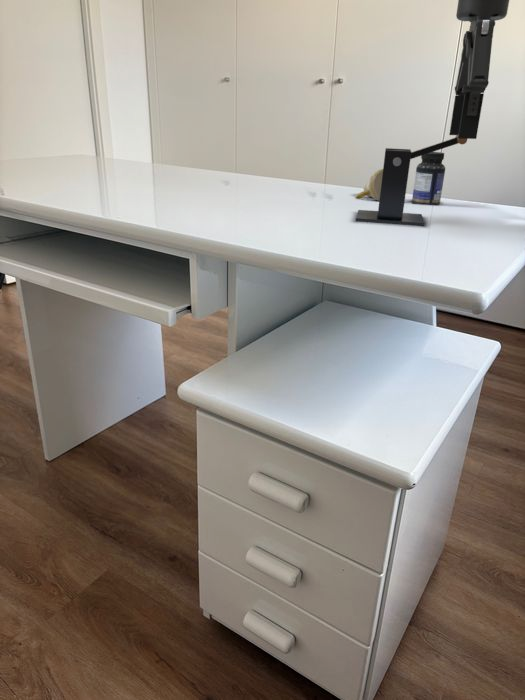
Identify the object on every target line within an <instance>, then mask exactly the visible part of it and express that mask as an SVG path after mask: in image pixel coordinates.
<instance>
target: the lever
mask: <svg viewBox="0 0 525 700" xmlns="http://www.w3.org/2000/svg"><path fill="white" fill-rule="evenodd" d="M467 142H468V139H462V138H458V135H455V137H453V138H449V139H447V140H444V141H441V142H438V143H435V144H432V145H429V146H426V147H423V148H420V149H416V150H414V151H411V159H410V160H413V159H415V158H419V157H421V156H422V155H425V154H428V153H431V152H438V151H440V150H444V149H445V148H448V147H453V146H454V145H459V144H460V145H465V144H467Z"/></svg>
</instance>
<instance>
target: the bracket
mask: <svg viewBox="0 0 525 700" xmlns="http://www.w3.org/2000/svg"><path fill="white" fill-rule="evenodd" d="M411 152H412V150H411V148H392V147H390V148H389V147H385V151H384V157H383V158H384V161H383V165H382V166H383V168H382V169H383V175H382V183H381V192H380V200H379V201H378V209H377V210H368V209H358V210H357V213H356V217H355V222H356V223H357V222H359V223H373V224H383V225H384V224H386V225H399V226H415V227H424V226H425V221H424V217H423V214H422V213H413V212H412V213H410V212H404V209H405V208H404V207H405V201H406V194H407V187H408V181H409V180H408V179H409V172H410V165H411V160H412V159H411Z"/></svg>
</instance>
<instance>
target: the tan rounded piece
mask: <svg viewBox="0 0 525 700" xmlns="http://www.w3.org/2000/svg"><path fill="white" fill-rule="evenodd" d="M382 175H383V168H381V169H379V170H377V171H375V172H374V173H373V174H372V175H371V176H370V178H369V180H367V181H366V182H365V183H364V185H363V191H361V192H359V193H357V194H355V196H354V197H355V198H356V199H361V198H364V197H369V198H373V199H374V200H376V201H377V202H379V200H380V192H381V183H382Z"/></svg>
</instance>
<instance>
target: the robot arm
mask: <svg viewBox="0 0 525 700" xmlns="http://www.w3.org/2000/svg"><path fill="white" fill-rule="evenodd" d="M509 5H510V0H458V1H457V9H456V15H455V17H456V19H457V20H458V21H461V22H469V23H470V25H469V28H468V29H469V30H466V31H465V33H464V35H463V38H462V50H461V55H460V62H459V67H458V73H457V78H456V82H455V86H454V92H455V96H454V101H453V106H452V107H453V108H452V113H451V114H452V115H451V121H450V127H449V136H457V135H458V138H462V139H467V140H468V139H469V140H477V136H478V131H479V124H480V118H481V113H482V107H483V103H484V96H485V95H484V94H485V91H486V90H487V89H486V88H488V87H489V83H490V82H489V77H490V76H489V75H490V65H491V56H492V47H493V37H494V30H495V26H496V21H501V20H503V19H505V18H506V17H507V14H508V10H509Z"/></svg>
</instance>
